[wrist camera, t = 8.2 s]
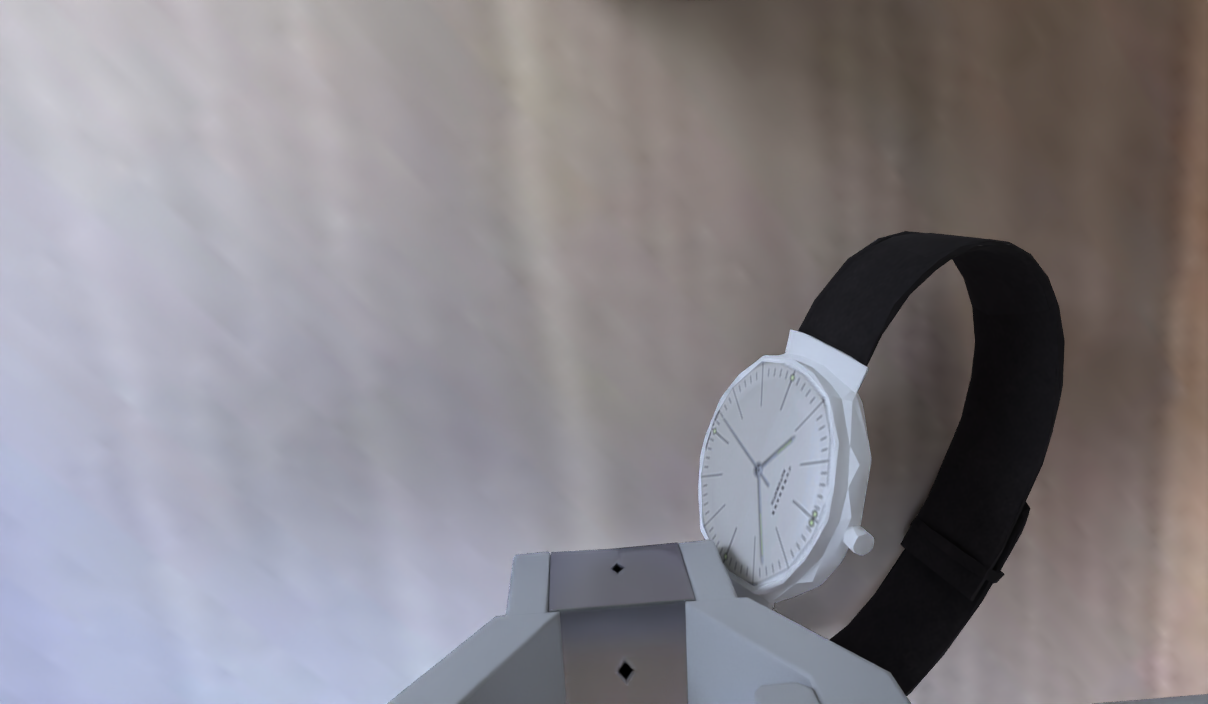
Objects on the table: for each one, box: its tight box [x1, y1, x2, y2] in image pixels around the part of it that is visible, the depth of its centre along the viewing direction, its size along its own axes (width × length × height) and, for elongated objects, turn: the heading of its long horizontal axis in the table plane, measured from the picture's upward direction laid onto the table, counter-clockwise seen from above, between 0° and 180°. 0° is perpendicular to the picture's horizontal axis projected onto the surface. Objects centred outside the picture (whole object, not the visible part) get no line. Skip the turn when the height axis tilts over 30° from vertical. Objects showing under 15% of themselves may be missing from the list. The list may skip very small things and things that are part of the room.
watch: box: [698, 231, 1064, 696], centre depth 10 cm, size 8×5×4 cm, turn 163°
